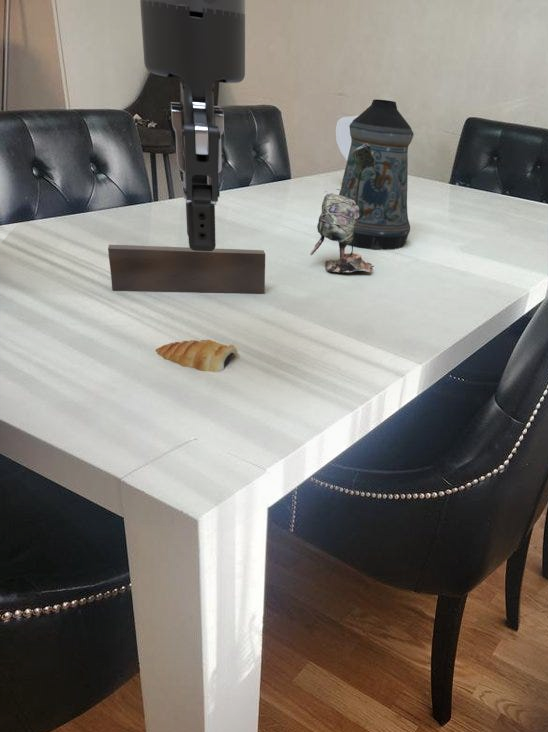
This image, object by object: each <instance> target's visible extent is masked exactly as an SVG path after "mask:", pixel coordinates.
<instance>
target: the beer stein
mask: <svg viewBox="0 0 548 732" xmlns="http://www.w3.org/2000/svg"><path fill="white" fill-rule="evenodd" d="M357 116H358V117H357V118H355V119H354V120H353V121H352V123H351V124H350V126H349V128H350V135H351V147H350V151H349V155H348V160H346V164H345V169H344V173H343V176H342V181H341V186H340V188H341V189H340V190H339V194H338V195H341V196H344V197H346V198H350V199H351V200H354V201H355V203H356V189H357V185H358V183H357V182H358V173H359V168H357V166H356V162H355V158H354V150H355V149H357V148H358V147H360V146H363V145H365V144H366V143H367V144H369V145H370V147H371V149H372V152H373V154H374V158H375V162H374V165H375V168H376V171H374V170H373V168H372V167H366V168H365V169H362V174H361V179H360V183H359V192H358V207H359V218H358V220H357V223H356V226H355V231H354V240H353V247H355V248H361V249H366V250H367V249H368V250H374V251H376V250H377V251H378V250H379V251H380V250H381V249H383V250H396V249H400V248H403V246H404V247H405V245H406V243H407V239H408V237H409V235H410V232H411V225H410V221H409V215H408V177H409V176H408V174H409V173H408V169H409V167H408V166H409V164H408V163H409V162H408V160H409V158H408V157H409V155H408V151H409V146H410V144H412V141H413V138H414V136H415V135H414V134H415V133H414V131H413V129H412V127H411V125H409V123H408V121H407V120H406V119H405V118H404V116H403V114H401V113H400V111H399V110H398V106H397V101H394V100H387V99H372V102H371V104H370V105H369V106H368V107H367V108H366V109H365V110H364V111H362V112H361V113H360V114H359V115H357ZM347 246H351V247H352V242H351V243H349V244H348V245H347ZM399 247H400V248H399ZM395 248H396V249H395Z"/></svg>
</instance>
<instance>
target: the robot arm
mask: <svg viewBox="0 0 548 732" xmlns="http://www.w3.org/2000/svg"><path fill="white" fill-rule="evenodd" d="M139 5H140V23H141V34H142V36H141V37H142V48H143V65H144V67H145V69H146V70H147V72H149V73H150V74H153V75H156V76H160V77H166V78H174V79H177V80H178V81H179V82H180V83H179V84H180V102H174V101H170V114H171V115H170V116H171V117H170V118H171V125H172V129H173V131H174V133H175V154H176V155H175V156H176V162H177V167H178V169H179V171H180V175H181V176H182V180H181V187H182V188H183V199H184V200H185V212H186V213H185V214H186V217H185V218H186V234H187V238H188V247H189V248H191V249H192V250H194V251H213V250H214V249H216V243H217V242H216V206H217V202H219V198H220V189H219V174H220V173H221V172H222V170H223V159H222V158H223V157H222V154H223V153H222V135H223V134H224V132H225V113H224V110H223V109H222V107H221V106H218V105H217V106H216V105H215V101H214V99H215V98H214V88H215V85H216V84H218V83H224V84H237V83H238V84H239V83H241V82H242V81H243V80H245V76H246V0H139Z"/></svg>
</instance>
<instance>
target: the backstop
mask: <svg viewBox="0 0 548 732" xmlns="http://www.w3.org/2000/svg"><path fill="white" fill-rule="evenodd" d="M107 251H108V253H107V254H108V260H109V261H108V263H109V269H110V280H111V287H112V291H113V292H114V291H115V292H116V291H118V292H119V291H120V292H121V291H122V292H169V293H173V292H174V293H215V294H219V293H220V294H221V293H223V294H265V293H266V292H265V291H266V289H265V288H266V287H265V286H266V253H265V250H264V249H240V248H239V249H237V248H215V249H214V250H213V251H194V250H192V249H191V248H190V247H189V246H188V247H186V246H184V247H183V246H160V245H159V246H158V245H136V244H135V245H134V244H133V245H132V244H130V245H129V244H108V246H107Z"/></svg>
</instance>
